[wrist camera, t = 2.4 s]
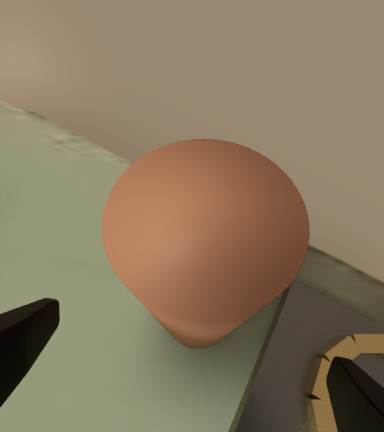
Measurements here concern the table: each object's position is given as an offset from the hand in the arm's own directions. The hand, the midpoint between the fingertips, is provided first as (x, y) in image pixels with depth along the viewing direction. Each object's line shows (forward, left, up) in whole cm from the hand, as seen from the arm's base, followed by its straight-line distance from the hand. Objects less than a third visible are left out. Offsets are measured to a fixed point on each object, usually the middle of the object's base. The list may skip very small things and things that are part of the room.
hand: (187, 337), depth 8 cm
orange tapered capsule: (+2, -1, -10) cm, 11 cm away
